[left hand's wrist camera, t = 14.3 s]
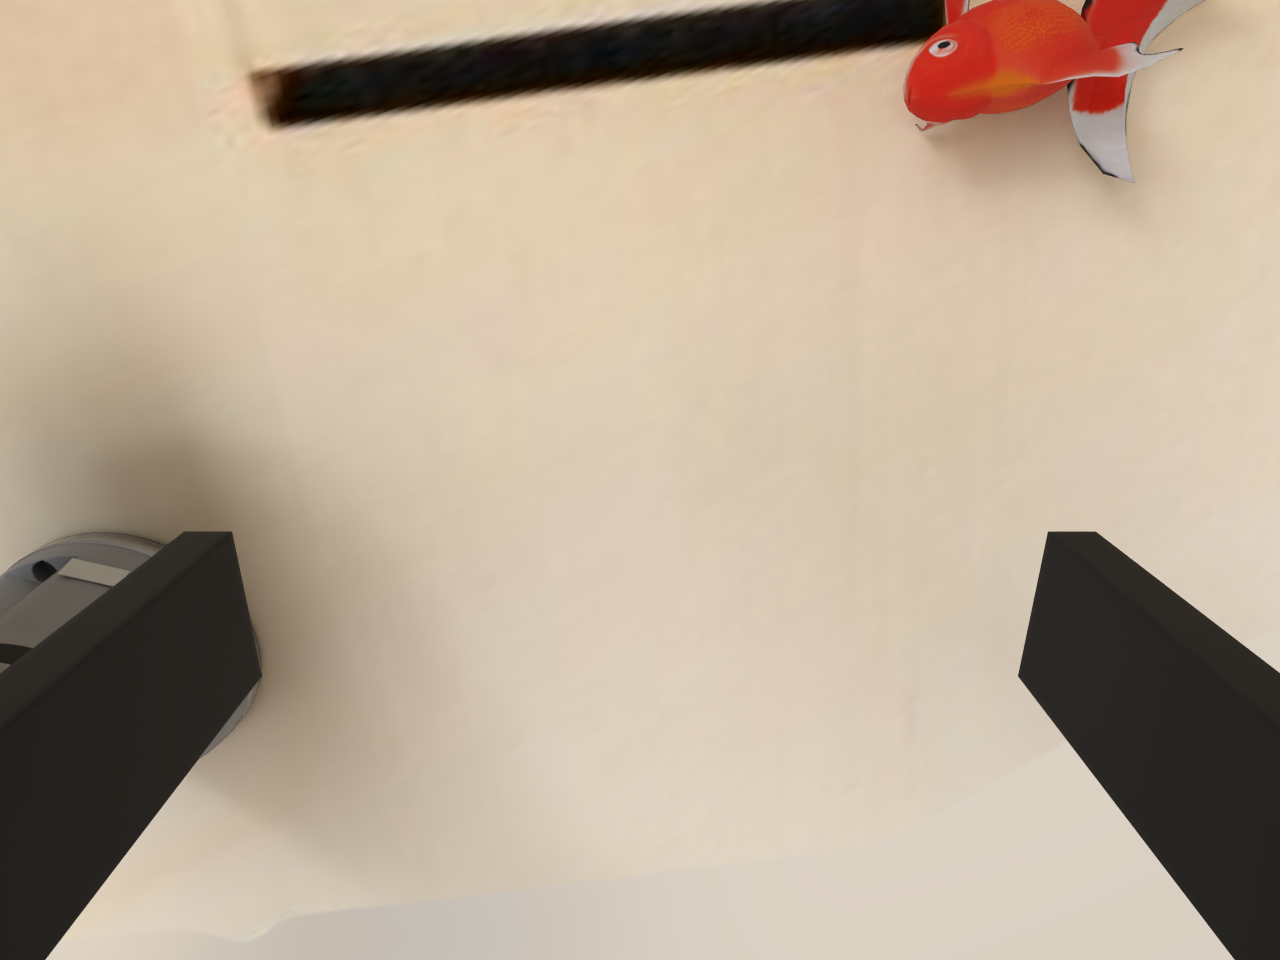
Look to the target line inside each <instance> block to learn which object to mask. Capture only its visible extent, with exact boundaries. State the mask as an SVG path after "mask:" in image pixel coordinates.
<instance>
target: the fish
mask: <svg viewBox="0 0 1280 960" xmlns="http://www.w3.org/2000/svg"><path fill="white" fill-rule="evenodd" d="M1203 1H1204V0H1086V1H1085V3H1084V5H1083V8H1082V13H1081V16H1080V15H1079V14H1078V13H1077V12H1075V11H1074V10H1073V9H1071V8H1069V7H1068V6H1066V5H1064V4H1062V3H1061V2H1059V1H1057V0H993V1H990V2H987V3H985V4H982V5H979V6H977V7H975V8H972V9H971V10H969V0H945V13H946V25H945V26H944V27H943V28H941V29H940V30H939V31H938V32H936V33H935V34H934V35H933V36H932V37H931V38H930V39H929V40H928V41H926V42H925V44H924V45H923V46H922V47H921V48H920V50H919V51H918V52H917V53H916V55H915V57H914V58H913V60H912V61H911V63H910V65H909V67H908V69H907V72H906V76H905V81H904V86H903V92H904V101H905V103H906V106H907V108H908V110H909V111H910V112H911V113H913V114H914V115H915V116H917V117H918V118H920V119H922V120H924V121H926V122H927V125H926V126H925V128H924V129H921V128H920V127H919V126H918V125H917V124H915V125H916V126H917V128H918V129H919V130H920V132H921V131H924V130H927V129H930V128H932V127H935V126H937V125H942V124H945V123H947V122H949V121H952V120H956V119H968V118H971V117H974V116H976V115H977V114H978V113H981V114H998V113H1004V112H1010V111H1015V110H1019V109H1022V108H1025V107H1028V106H1030V105H1033V104H1035V103H1037V102H1039V101H1041V100H1043V99H1045V98H1047V97H1048V96H1050V95H1052V94H1054V93H1055V92H1057V91H1058V90H1060V89H1061V88H1063V87H1064V86H1066V85H1067V88H1068V100H1069V110H1070V115H1071V119H1072V123H1073V127H1074V130H1075V133H1076V135H1077V138H1078V141H1079V143H1080V146H1081V147H1082V148H1083V149H1084V151H1085V152H1086V153H1087V154H1088V156H1089V157H1090V158H1091V159H1092V160H1093V162H1094V163H1095V164H1096V165H1097V167H1098V168H1099V169H1100V170H1101V172H1102V173H1103V174H1106V175H1110V176H1113V177H1117V178H1120V179H1123V180H1127V181H1130V182H1134V183H1135V180H1134V178H1133V175H1132V171H1131V166H1130V162H1129V156H1128V150H1127V142H1126V113H1127V108H1128V102H1129V97H1130V91H1131V85H1132V81H1133V78H1134V75H1135V72H1136V71H1137V70H1140V69H1143V68H1146V67H1148V66H1150V65H1152V64H1154V63H1156V62H1158V61H1160V60H1162V59H1164V58H1166V57H1169V56H1171V55H1173V54H1175V53H1177V52H1179V51H1181V50H1182V49H1184V48H1179V49H1175V50H1171V51H1166V52H1161V53H1157V54H1148V55H1147V54H1144V53H1145V51H1146V49H1147V47H1148V46H1149V44H1150V43H1151V41H1152V40H1153V39H1154V38H1155V37H1156V36H1157V35H1158V34H1160V33H1161V32H1162V31H1163V30H1164V29H1165V28H1166V27H1167V26H1169V25H1170V24H1171V23H1172V22H1173V21H1175V20H1176V19H1177V18H1178V17H1179V16H1181V15H1182V14H1183V13H1185V12H1186V11H1188V10H1189V9H1191V8H1193V7H1194V6H1196V5H1198V4H1199V3H1201V2H1203ZM968 10H969V11H968Z"/></svg>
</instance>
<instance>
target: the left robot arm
mask: <svg viewBox="0 0 1280 960" xmlns="http://www.w3.org/2000/svg"><path fill="white" fill-rule="evenodd" d="M261 677H262V674H261V660H260V651H259V647H258V642H257V639H256V636H255V633H254V630H253V628H252V626H251V621H250V616H249V612H248V607H247V602H246V597H245V592H244V588H243V583H242V578H241V573H240V568H239V563H238V559H237V554H236V549H235V544H234V539H233V535H232V532H183V533H182V534H181V535H179V536H178V537H177V538H175V539H174V540H173V541H171V542H170V543H169V544H168V545H166V546H164V545H161V544H159V543H156V542H153V541H150V540H147V539H143V538H139V537H135V536H130V535H124V534H116V533H86V534H78V535H73V536H68V537H65V538H61V539H58V540H55V541H53V542H51V543H48V544H46V545H44V546H42V547H41V548H39V549H37V550H36V551H34V552H32V553H31V554H29V555H27V556H26V557H24V558H23V559H21V560H19V561H18V562H17V563H15V564H14V565H13V566H11V567H10V568H9V569H8V570H7V571H6V572H5V573H4V574H2V575H1V576H0V960H45V959H46V958H47V957H48V955H49V954H50V953H51V951H52V950H53V949H54V948H55V946H56V945H57V944H58V942H59V941H60V940H61V938H62V937H63V936H64V934H65V933H66V932H67V931H68V929H69V928H70V927H71V925H72V924H73V923H74V921H75V920H76V919H77V917H78V916H79V915H80V914H81V912H82V911H83V910H84V908H85V907H86V906H87V904H88V903H89V902H90V900H91V899H92V898H93V897H94V895H95V894H96V893H97V891H98V890H99V889H100V887H101V886H102V885H103V883H104V882H105V881H106V880H107V878H108V877H109V876H110V874H111V873H112V872H113V870H114V869H115V868H116V866H117V865H118V864H119V862H120V861H121V860H122V859H123V857H124V856H125V855H126V853H127V852H128V851H129V849H130V848H131V847H132V845H133V844H134V843H135V842H136V840H137V839H138V838H139V836H140V835H141V834H142V832H143V831H144V830H145V828H146V827H147V826H148V825H149V823H150V822H151V821H152V819H153V818H154V817H155V815H156V814H157V813H158V811H159V810H160V809H161V808H162V806H163V805H164V804H165V802H166V801H167V800H168V798H169V797H170V796H171V794H172V793H173V792H174V791H175V789H176V788H177V787H178V785H179V784H180V783H181V781H182V780H183V779H184V777H185V776H186V775H187V773H188V772H189V771H190V770H191V768H192V767H193V766H194V764H195V763H196V762H197V760H198V759H199V758H201V757H203V756H204V755H206V754H207V753H208V752H210V751H211V750H212V749H214V748H215V747H216V746H217V745H218V744H219V743H220V742H221V741H222V740H223V739H224V738H226V737H227V736H228V735H229V734H230V733H231V731H232V730H233V729H234V728H235V727H236V725H237V724H238V723H239V721H240V720H241V718H242V717H243V716H244V714H245V713H246V712H247V710H248V709H249V707H250V706H251V704H252V702H253V700H254V698H255V695H256V693H257V689H258V685H259V681H260V678H261ZM1018 677H1019V678H1020V679H1021V681H1022V682H1023V683H1024V684H1025V686H1026V687H1027V688H1028V690H1029V691H1030V692H1031V694H1032V695H1033V696H1034V698H1035V699H1036V700H1037V702H1038V703H1039V704H1040V705H1041V707H1042V708H1043V709H1044V711H1045V712H1046V713H1047V715H1048V716H1049V717H1050V719H1051V720H1052V721H1053V722H1054V724H1055V725H1056V726H1057V728H1058V729H1059V730H1060V732H1061V733H1062V734H1063V736H1064V737H1065V738H1066V739H1067V741H1068V742H1069V743H1070V745H1071V746H1072V747H1073V749H1074V750H1075V751H1076V753H1077V754H1078V755H1079V756H1080V758H1081V759H1082V760H1083V762H1084V763H1085V764H1086V766H1087V767H1088V768H1089V770H1090V771H1091V772H1092V773H1093V775H1094V776H1095V777H1096V779H1097V780H1098V781H1099V783H1100V784H1101V785H1102V787H1103V788H1104V789H1105V791H1106V792H1107V793H1108V794H1109V796H1110V797H1111V798H1112V800H1113V801H1114V802H1115V804H1116V805H1117V806H1118V807H1119V809H1120V810H1121V811H1122V813H1123V814H1124V815H1125V817H1126V818H1127V819H1128V821H1129V822H1130V823H1131V825H1132V826H1133V827H1134V828H1135V830H1136V831H1137V832H1138V834H1139V835H1140V836H1141V838H1142V839H1143V840H1144V842H1145V843H1146V844H1147V845H1148V847H1149V848H1150V849H1151V851H1152V852H1153V853H1154V855H1155V856H1156V857H1157V859H1158V860H1159V861H1160V862H1161V864H1162V865H1163V866H1164V868H1165V869H1166V870H1167V872H1168V873H1169V874H1170V876H1171V877H1172V878H1173V880H1174V881H1175V882H1176V883H1177V885H1178V886H1179V887H1180V889H1181V890H1182V891H1183V892H1184V894H1185V895H1186V896H1187V898H1188V899H1189V900H1190V902H1191V903H1192V904H1193V906H1194V907H1195V908H1196V910H1197V911H1198V912H1199V914H1200V915H1201V916H1202V917H1203V919H1204V920H1205V921H1206V923H1207V924H1208V925H1209V927H1210V928H1211V929H1212V931H1213V932H1214V933H1215V934H1216V936H1217V937H1218V938H1219V940H1220V941H1221V942H1222V944H1223V945H1224V946H1225V948H1226V949H1227V950H1228V951H1229V953H1230V954H1231V955H1232V957H1233V958H1234V959H1235V960H1280V673H1279V672H1278V671H1276V670H1275V669H1274V668H1272V667H1271V666H1270V665H1268V664H1267V663H1266V662H1265V661H1263V660H1262V659H1261V658H1259V657H1258V656H1257V655H1255V654H1254V653H1253V652H1252V651H1250V650H1249V649H1248V648H1246V647H1245V646H1244V645H1242V644H1241V643H1240V642H1239V641H1237V640H1236V639H1235V638H1233V637H1232V636H1231V635H1229V634H1228V633H1227V632H1226V631H1224V630H1223V629H1222V628H1220V627H1219V626H1218V625H1216V624H1215V623H1214V622H1213V621H1211V620H1210V619H1209V618H1207V617H1206V616H1205V615H1203V614H1202V613H1201V612H1200V611H1198V610H1197V609H1196V608H1194V607H1193V606H1192V605H1190V604H1189V603H1188V602H1187V601H1185V600H1184V599H1183V598H1181V597H1180V596H1179V595H1177V594H1176V593H1175V592H1174V591H1172V590H1171V589H1170V588H1168V587H1167V586H1166V585H1164V584H1163V583H1162V582H1161V581H1159V580H1158V579H1157V578H1155V577H1154V576H1153V575H1151V574H1150V573H1149V572H1148V571H1146V570H1145V569H1144V568H1142V567H1141V566H1140V565H1138V564H1137V563H1136V562H1135V561H1133V560H1132V559H1131V558H1129V557H1128V556H1127V555H1125V554H1124V553H1123V552H1122V551H1120V550H1119V549H1118V548H1116V547H1115V546H1114V545H1112V544H1111V543H1110V542H1109V541H1107V540H1106V539H1105V538H1103V537H1102V536H1101V535H1099V534H1098V533H1097V532H1048V535H1047V539H1046V544H1045V549H1044V554H1043V559H1042V563H1041V568H1040V573H1039V578H1038V583H1037V588H1036V592H1035V597H1034V602H1033V607H1032V612H1031V616H1030V621H1029V626H1028V631H1027V636H1026V641H1025V645H1024V650H1023V655H1022V660H1021V665H1020V669H1019V674H1018Z"/></svg>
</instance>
